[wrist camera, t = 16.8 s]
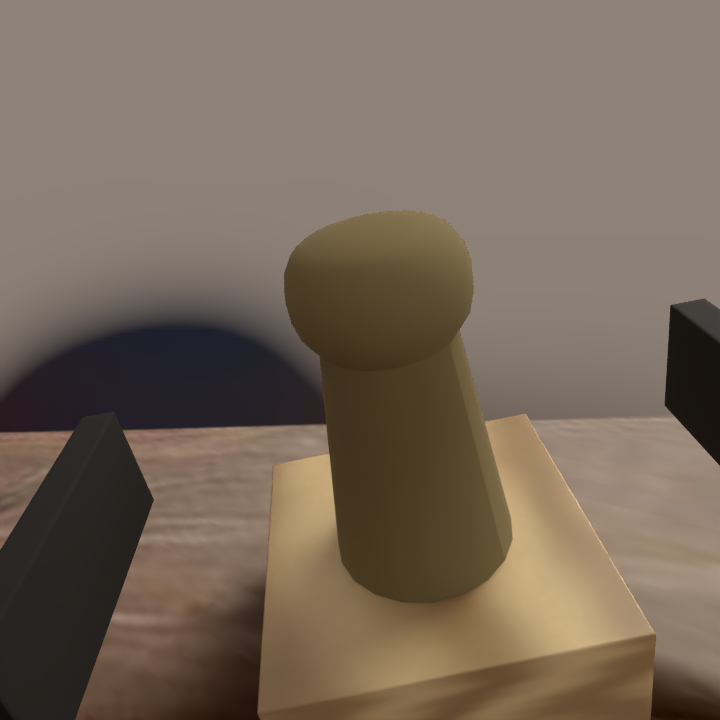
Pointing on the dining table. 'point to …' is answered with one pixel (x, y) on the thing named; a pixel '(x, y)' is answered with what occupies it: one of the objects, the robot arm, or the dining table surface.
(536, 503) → the riser block
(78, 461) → the robot arm
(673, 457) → the dining table surface
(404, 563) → the olive green peg figure
